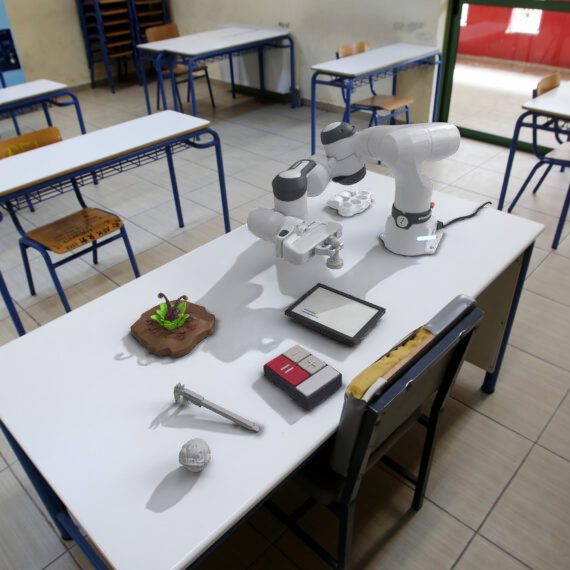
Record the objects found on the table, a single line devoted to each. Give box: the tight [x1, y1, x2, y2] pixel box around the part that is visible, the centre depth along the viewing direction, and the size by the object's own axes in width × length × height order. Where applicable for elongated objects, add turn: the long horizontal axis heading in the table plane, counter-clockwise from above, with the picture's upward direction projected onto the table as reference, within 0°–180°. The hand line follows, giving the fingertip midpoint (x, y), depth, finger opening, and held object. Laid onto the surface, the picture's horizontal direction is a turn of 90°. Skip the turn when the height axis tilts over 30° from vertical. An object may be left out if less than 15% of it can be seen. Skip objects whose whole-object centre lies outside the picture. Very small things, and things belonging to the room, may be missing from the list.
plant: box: [129, 292, 216, 358], centre depth 128 cm, size 20×20×11 cm
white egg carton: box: [326, 189, 373, 217], centre depth 189 cm, size 3×18×15 cm
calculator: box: [262, 344, 343, 411], centre depth 114 cm, size 11×4×15 cm
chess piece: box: [325, 238, 344, 270], centre depth 131 cm, size 5×5×8 cm
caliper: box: [172, 381, 261, 433], centre depth 106 cm, size 20×1×6 cm, turn 65°
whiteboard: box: [283, 282, 387, 347], centre depth 132 cm, size 16×21×3 cm
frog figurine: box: [178, 437, 212, 473], centre depth 95 cm, size 6×7×7 cm
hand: (338, 249), depth 130 cm, fingers closed on chess piece, 3 cm apart
